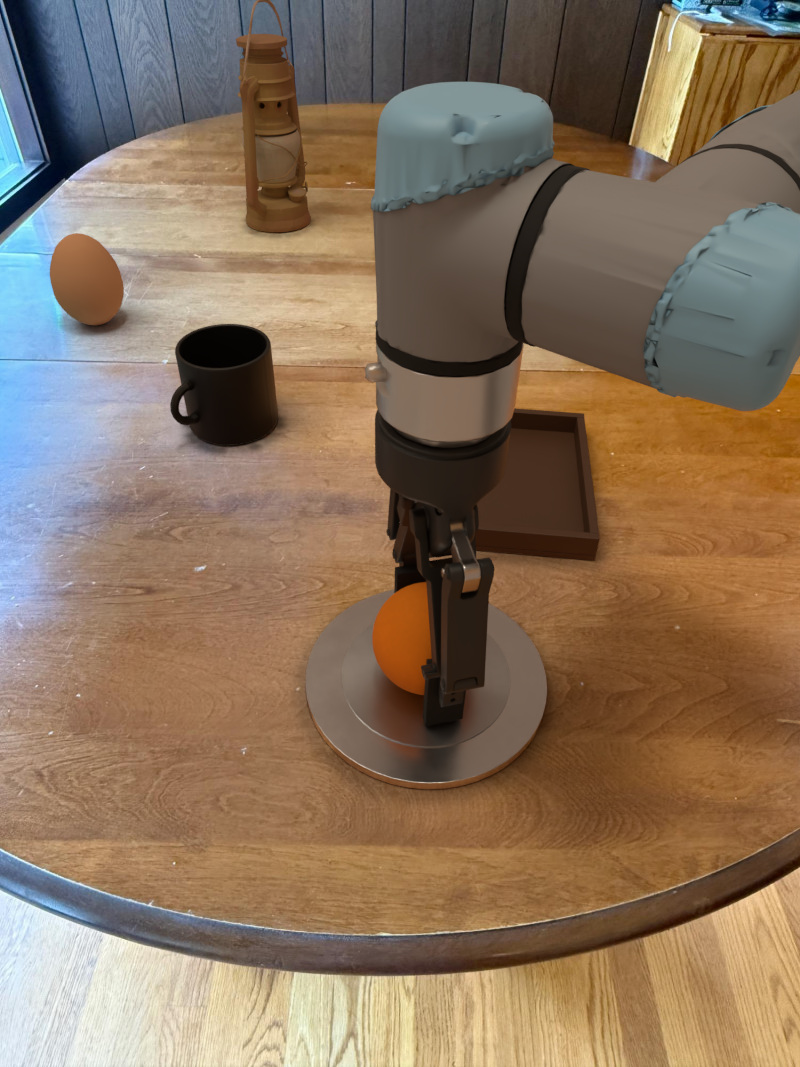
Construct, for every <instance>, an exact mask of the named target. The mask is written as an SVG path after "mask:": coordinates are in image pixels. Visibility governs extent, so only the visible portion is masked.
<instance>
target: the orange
mask: <svg viewBox="0 0 800 1067" xmlns="http://www.w3.org/2000/svg"><path fill="white" fill-rule="evenodd" d="M372 643H373V650H374V654H375V657H376V660H377V663H378V664H379V666H380V668H381V670H382V671H383V672H384V674H385V675H386V676H387V677H388V678H389V679H390V680H391V681H392V682H393V683H394V684H396V685H397V686H398V687H400V688H402V689H404V690H406V691H408V692H411V693H414V694H419V695H424V689H425V679H424V677H423V675H422V670H421V666H423V665H426V659H431V658H432V653H431V640H430V626H429V612H428V599H427V585H426V582H420V583H415V584H412V585H409V586H406V587H404V588H402V589H400V590H399V591H397V592H396V593H394V594H393V595H392V596H391V597H390V598H389V599H388V600H387V601H386V602H385V603H384V604H383V606H382V607H381V609H380V611H379V613H378V615H377V617H376V620H375V623H374V626H373V634H372Z"/></svg>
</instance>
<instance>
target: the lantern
mask: <svg viewBox="0 0 800 1067" xmlns="http://www.w3.org/2000/svg"><path fill="white" fill-rule="evenodd" d="M259 3H266V4H268V5H269V6H270V8H271V9H272V11H273V13H274V14H275V17H276V19H277V22H278V25H279V29H280V33H281V35H279V34H274V33H252V29H253V22H254V21H253V20H254V14H255V10H256V6H258V4H259ZM282 26H283V25H282V23H281V19H280V15H279V13H278V10H277V8H276V7H275V4H273V2H272V0H255V1H254V3H253V5H252V8H251V14H250V20H249V26H248V33H247V34H245V35H241V36H239V37H236V38H235V42H236V47H238V48H242V49H243V51H242V52H241V55H242V56H243V57H242V58H240V59H239V76H238V77H237V78H238V80H239V81H240V83H239V92H238V93H237V97H239V98H240V99H241V112H242V126H241V130H242V135H241V142H242V148H243V155H244V156H243V157H244V174H245V177H244V178H245V195H246V196H245V197H246V198H245V205H246V213H245V223H246V225H247V226H248V227H249V228H251V229H253V230H256V231H260V232H266V233H285V232H286V233H287V232H293V231H297V230H300V229H303V228H305V227H307V226H309V224H310V223H311V220H312V219H311V214H310V210H309V205H308V204H309V203H308V197H307V193H308V192H309V187H308V182H307V181H306V167H307V165H308V162H307V161H305V155H304V148H303V147H304V146H303V137H302V131H301V123H300V115H299V107H298V106H299V105H298V99H297V90H296V81H295V67H294V65H293V64H292V62H291V61H290V60H289V55H288V52H287V48H286V47H287V46H288V38H287V37H286V36H284V32H283V27H282ZM282 48H283V49H284V51H283V50H282ZM284 53H285V56H286V57H285V56H284V57H283V55H284ZM260 188H261V189H260Z"/></svg>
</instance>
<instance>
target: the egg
mask: <svg viewBox="0 0 800 1067" xmlns="http://www.w3.org/2000/svg"><path fill="white" fill-rule="evenodd" d="M122 277H123V276H122V274H121V271H120V267H119V266H118V264H117V261H116V260H115V259H114V257H113V256H112V254H111V252H110V251H109V250H108V249H107V248H106V247H105V246H104V245H102V243H101V242H100V241H99V240H97V239H96V238H94V237H92V236H90V235H87V234H84V233H78V232H77V233H75V232H74V233H71V234H68V235H66V236H64V237H63V238H62V239H61V240H60V241H58V243H57V244H56V246H55V247H54V250H53V253H52V256H51V260H50V266H49V279H50V286H51V288H52V292H53V295H54V298H55V300H56V301H57V304H58V306H60V307H61V309H62V310H63V311H64V312H65V313H66V314H67V316H69V317H71V319H74V320H75V321H76V322H79V323H82V324H85V325H86V326H87V325H88V326H101V325H104V324H106V323H108V322H110V321H111V320H112V319H113V318H114V317H115V316H116V315H117V314H118V312H119V311H120V309H121V306H122V304H123V300H124V296H125V295H124V294H125V287H124V281H123V278H122Z"/></svg>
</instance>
